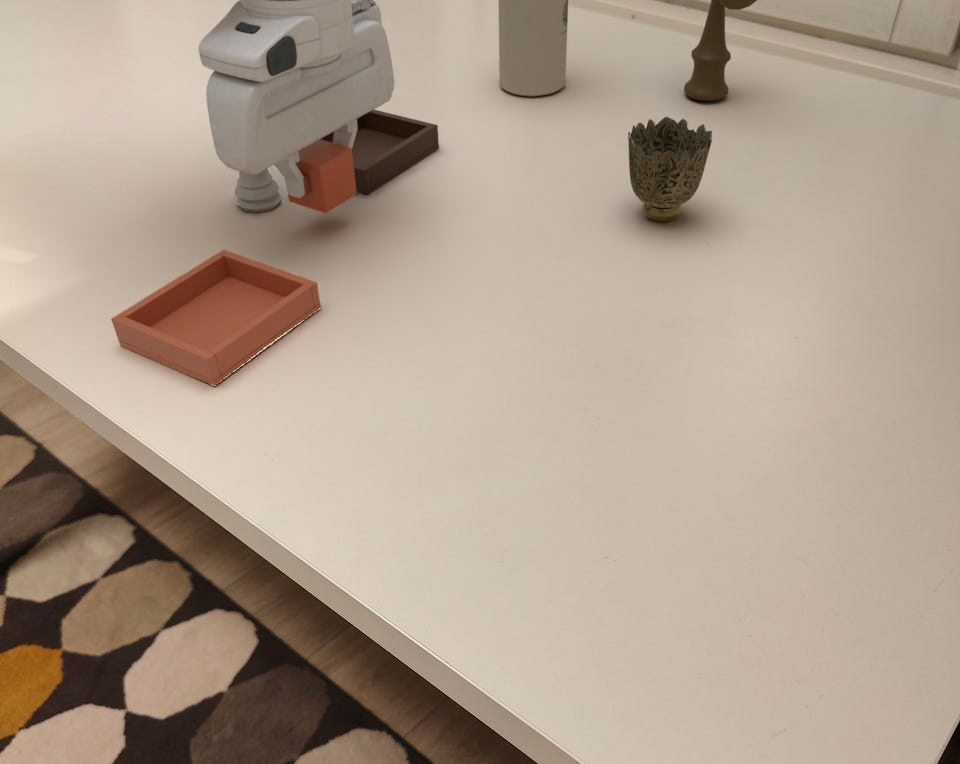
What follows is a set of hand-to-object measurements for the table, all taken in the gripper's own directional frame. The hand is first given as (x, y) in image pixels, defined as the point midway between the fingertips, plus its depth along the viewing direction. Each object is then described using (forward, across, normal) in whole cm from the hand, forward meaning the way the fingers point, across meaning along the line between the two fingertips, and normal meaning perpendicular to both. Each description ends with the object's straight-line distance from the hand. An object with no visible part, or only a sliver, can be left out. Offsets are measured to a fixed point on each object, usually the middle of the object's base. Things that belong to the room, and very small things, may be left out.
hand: (320, 181), depth 87 cm
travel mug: (+4, -40, -1) cm, 40 cm away
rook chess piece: (+5, 0, -9) cm, 10 cm away
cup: (+4, -18, +26) cm, 32 cm away
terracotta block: (+2, 0, 0) cm, 2 cm away
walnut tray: (+4, -13, -6) cm, 15 cm away
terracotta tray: (+5, +18, +4) cm, 19 cm away
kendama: (+4, -47, +18) cm, 51 cm away
